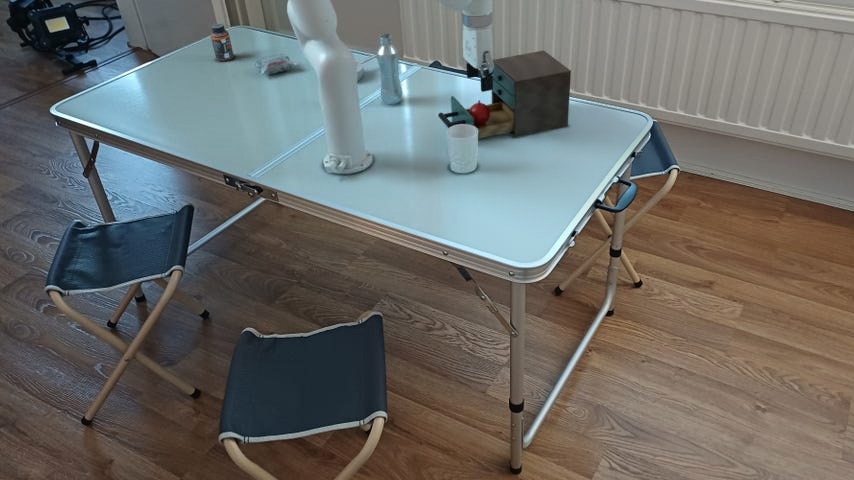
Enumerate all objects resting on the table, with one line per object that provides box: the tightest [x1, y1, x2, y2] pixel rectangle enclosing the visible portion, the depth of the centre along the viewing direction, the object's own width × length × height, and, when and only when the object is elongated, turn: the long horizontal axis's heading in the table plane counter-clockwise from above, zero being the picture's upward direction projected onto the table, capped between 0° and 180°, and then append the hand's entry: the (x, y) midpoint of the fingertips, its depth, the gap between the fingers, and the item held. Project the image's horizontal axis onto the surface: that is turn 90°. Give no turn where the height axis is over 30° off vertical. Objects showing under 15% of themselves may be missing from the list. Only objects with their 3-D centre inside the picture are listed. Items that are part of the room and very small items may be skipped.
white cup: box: [445, 124, 479, 174], centre depth 181 cm, size 8×8×10 cm
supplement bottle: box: [210, 23, 235, 62], centre depth 245 cm, size 6×6×11 cm
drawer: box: [437, 95, 514, 140], centre depth 197 cm, size 21×15×8 cm
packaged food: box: [254, 53, 297, 76], centre depth 237 cm, size 9×12×5 cm
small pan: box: [356, 54, 377, 82], centre depth 233 cm, size 11×18×4 cm, turn 136°
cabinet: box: [491, 50, 572, 138], centre depth 199 cm, size 18×16×16 cm
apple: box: [469, 99, 490, 126], centre depth 197 cm, size 6×6×7 cm
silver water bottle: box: [376, 33, 404, 105], centre depth 210 cm, size 6×7×20 cm
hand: (479, 83), depth 192 cm, fingers open, 9 cm apart
